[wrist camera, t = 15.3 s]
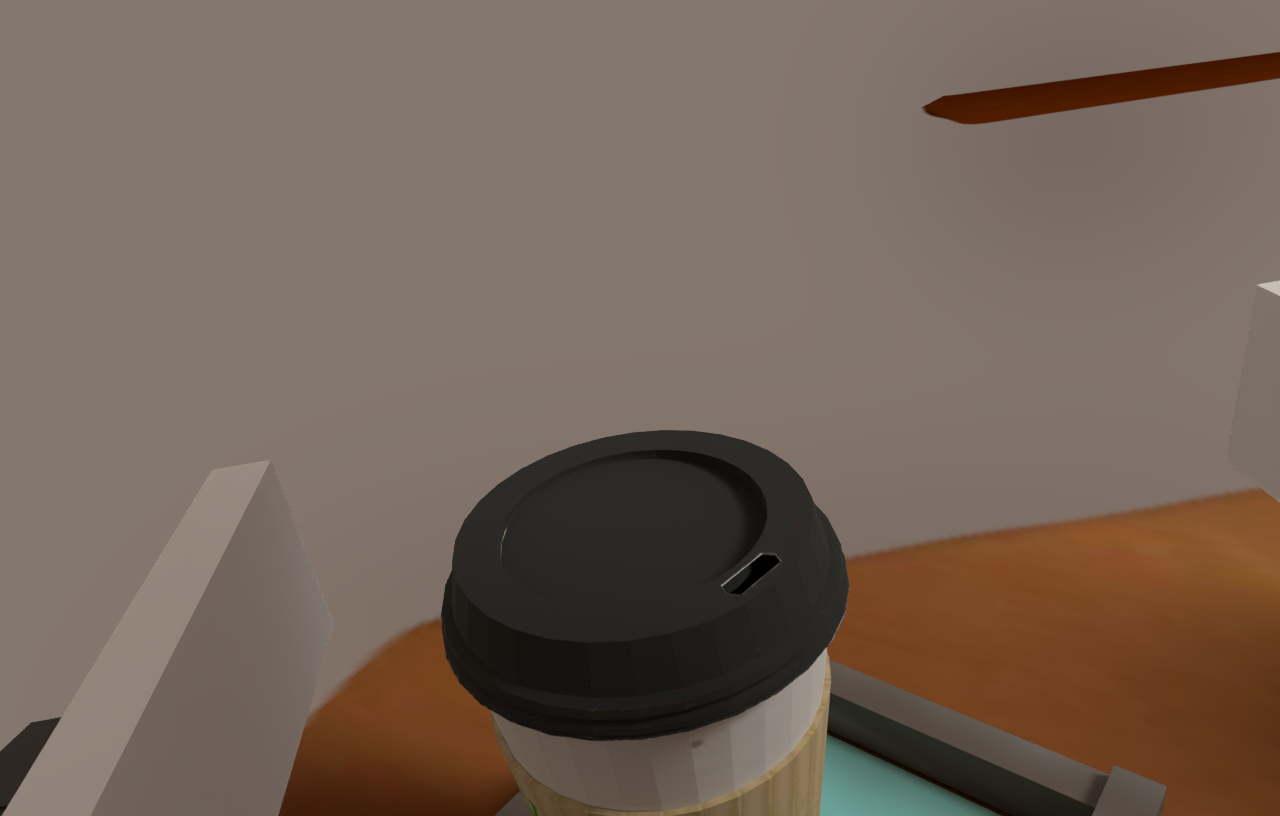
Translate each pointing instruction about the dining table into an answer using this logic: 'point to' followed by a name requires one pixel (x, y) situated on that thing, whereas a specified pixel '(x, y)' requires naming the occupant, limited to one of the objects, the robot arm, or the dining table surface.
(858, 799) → the bay
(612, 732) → the coffee cup
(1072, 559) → the dining table surface
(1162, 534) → the dining table surface
